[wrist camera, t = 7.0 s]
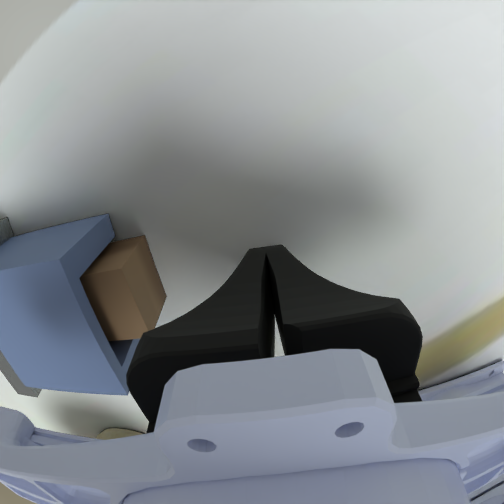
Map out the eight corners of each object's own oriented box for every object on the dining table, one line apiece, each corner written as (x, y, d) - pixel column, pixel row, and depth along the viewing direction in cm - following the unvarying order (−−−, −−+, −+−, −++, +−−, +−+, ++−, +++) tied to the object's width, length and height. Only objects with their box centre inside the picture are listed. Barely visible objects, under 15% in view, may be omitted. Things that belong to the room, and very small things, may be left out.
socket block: (108, 213, 12) (59, 259, 8) (150, 331, 14) (127, 395, 11) (11, 237, 12) (-39, 277, 9) (56, 335, 15) (25, 386, 11)
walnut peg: (146, 233, 13) (121, 268, 10) (167, 294, 14) (151, 337, 11) (42, 257, 13) (9, 289, 10) (66, 308, 14) (40, 344, 12)
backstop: (7, 217, 12) (-45, 253, 8) (65, 347, 15) (37, 397, 12) (-11, 223, 12) (-60, 258, 8) (46, 346, 15) (18, 394, 12)
